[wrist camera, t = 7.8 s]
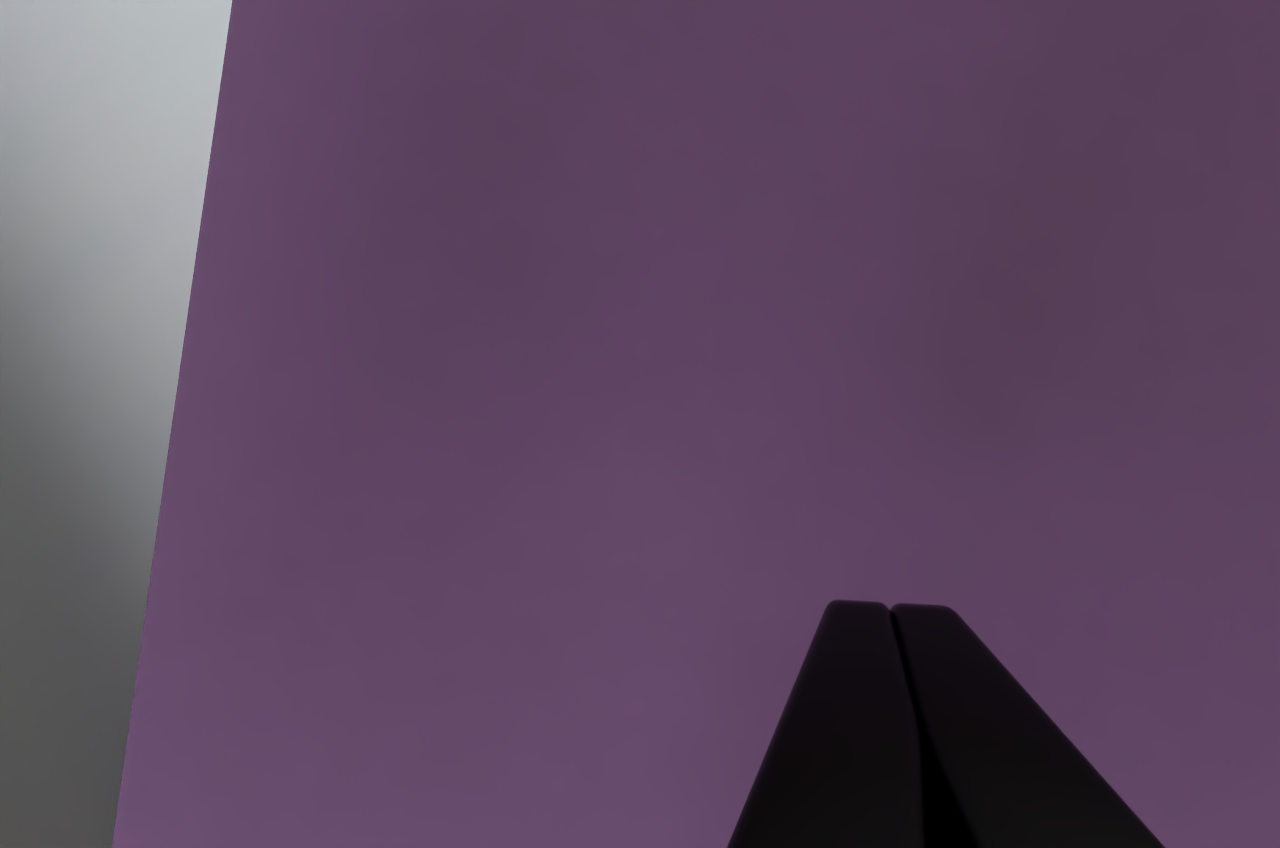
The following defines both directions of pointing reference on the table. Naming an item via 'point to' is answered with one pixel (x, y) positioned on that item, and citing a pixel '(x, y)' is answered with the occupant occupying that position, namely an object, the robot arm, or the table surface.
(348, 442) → the lid
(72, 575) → the table surface
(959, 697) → the robot arm
